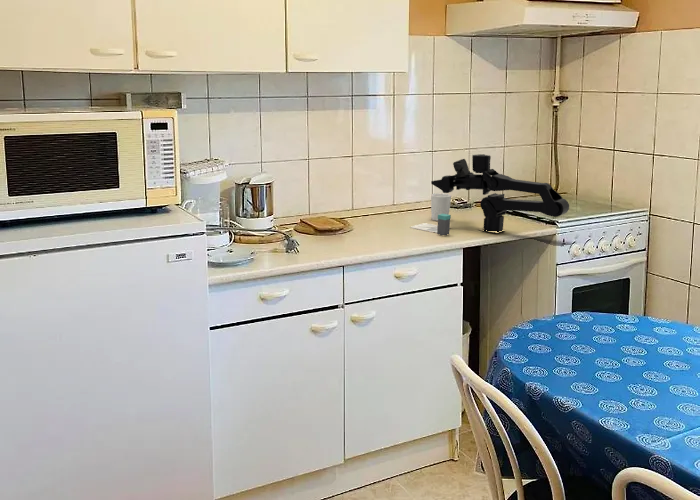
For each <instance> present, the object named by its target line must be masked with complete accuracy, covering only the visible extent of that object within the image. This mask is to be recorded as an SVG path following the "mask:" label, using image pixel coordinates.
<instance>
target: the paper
mask: <svg viewBox="0 0 700 500" xmlns="http://www.w3.org/2000/svg"><path fill="white" fill-rule="evenodd" d="M409 228H410V229H414V230H419V231H424V232H428V231H429V232H430V233H433V232H435V234H437V229H438V224H432V223H426V222H423V223H419V224H415V225H412V226H409Z"/></svg>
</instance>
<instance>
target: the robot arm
mask: <svg viewBox="0 0 700 500" xmlns="http://www.w3.org/2000/svg"><path fill="white" fill-rule="evenodd" d="M491 157H492V156H491V155H489V154H482V153H480V154H479V153H478V154H472V158H471V159H472V162H471V163H472V171H473V172H472V171H470V170H469V169H470V168H469V166H468V165H469V164H468V163H467V161H466V159H465V158H461V159H459V160H456V161H454V162H452V165H453V169H454V172H456V173H455V174H454V175H450V174H449V175H444V176H441V177H442V178H441V179H437V180H436V179H435V180H431V185H432V186H434V187H436V188H437V189H439V190H441V191H442V193H444V194H450V193H452V192H453V191H454V189H455V187H456V190H458V191H460V190H466V191H470V190H478V191H479V190H482V195H483V196H485V195H487V196H486V197H483V198H481V200H480V203H479V204H480V209H481V210H482V211H483V216H484V218H483V226H482V227H483V229H482V230H484V231H486V230H487V231H497V232H499V231H502V230H504V221H505V216H504V215H506V213H507V212H508V211H516V212H517V211H520V212H531V213H532V212H533V213H534V212H535V213H541V214H544V215H546V216H550V217H553V218H558V217H560V216H562V215H565V214H567V213H568V212H569V210H570V203H569V202H568V201H567V199H565V198H564V197H562V195H561V194H560V193H559V192H557V190H556V189H554V188H553V187H552V185H551V184H550V183H548V182H539V181H537V182H536V181H532V180H531V181H529V180H523V179H522V180H521V179H515V178H512V177H511V176H508V175H505V174H502V173H499V172H497V171H496V170H495V169H494V168H491ZM474 173H475V174H474ZM503 191H516V192H522V193H530V194H537V195H539V196H540V198H541V200H529V199H514V198H513V199H512V198H511V199H509V198H506V197H505V193H496V192H503ZM490 192H494V193H491V194H489V193H490ZM484 231H483V232H484Z"/></svg>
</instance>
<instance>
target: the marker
mask: <svg viewBox="0 0 700 500" xmlns="http://www.w3.org/2000/svg"><path fill="white" fill-rule="evenodd" d="M451 218H452V214H449V215H448V214H440V215H438V221H437V225H438V229H437V233H436V234H440V235H439V236H442V235H446V236H448V235H447V234H449V235H450V230H451V229H450V228H451V226H450V224H451Z"/></svg>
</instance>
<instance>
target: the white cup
mask: <svg viewBox="0 0 700 500" xmlns="http://www.w3.org/2000/svg"><path fill="white" fill-rule="evenodd" d="M430 195H431V196H430V201H431V202H430V210H431V211H430V212H431V213H430V214H431V217H430V218H431V220H432V221H434V222H435V221H436V222H438V215H440V214H448V215H450V209H451V200H452V195H451V194H450V193H443V192H442V193H440V192H437V193H432V194H430Z"/></svg>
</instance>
